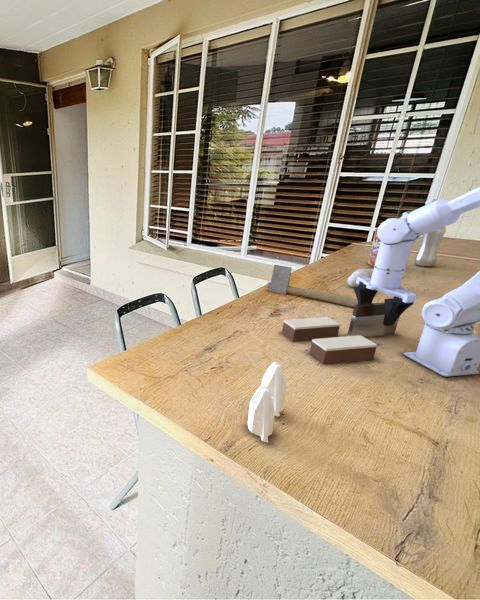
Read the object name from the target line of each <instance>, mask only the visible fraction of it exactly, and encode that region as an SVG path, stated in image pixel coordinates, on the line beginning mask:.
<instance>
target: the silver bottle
mask: <svg viewBox="0 0 480 600" xmlns="http://www.w3.org/2000/svg"><path fill="white" fill-rule="evenodd" d="M446 232H447V226H445V227H442V228H440V229H437V230H434V231H432V232H429V233H427V234H424V235H422V236H421V237H422V238H421V242H420V246H419V249H418V251H417V253H416V255H415V257H414V260H413V261H414V264H415V265H417V266H421V267H433V266H434V265H435V264H436V263H437V260H438V253H439V248H440V245H441V242H442V239H443V237H444V236H445V233H446Z"/></svg>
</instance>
